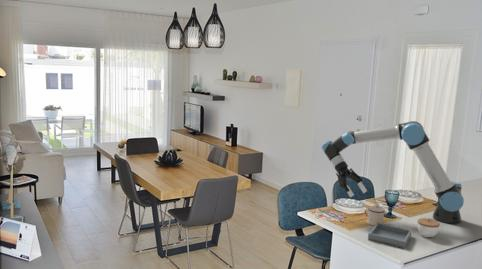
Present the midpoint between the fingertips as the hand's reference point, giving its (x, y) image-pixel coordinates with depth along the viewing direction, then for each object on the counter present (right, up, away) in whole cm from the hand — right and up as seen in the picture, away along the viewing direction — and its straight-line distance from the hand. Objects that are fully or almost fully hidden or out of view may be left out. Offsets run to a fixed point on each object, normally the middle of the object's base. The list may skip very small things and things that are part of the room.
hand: (358, 194), depth 244 cm
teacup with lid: (+7, -16, -5) cm, 18 cm away
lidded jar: (+31, -19, -21) cm, 42 cm away
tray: (+9, -19, -26) cm, 34 cm away
